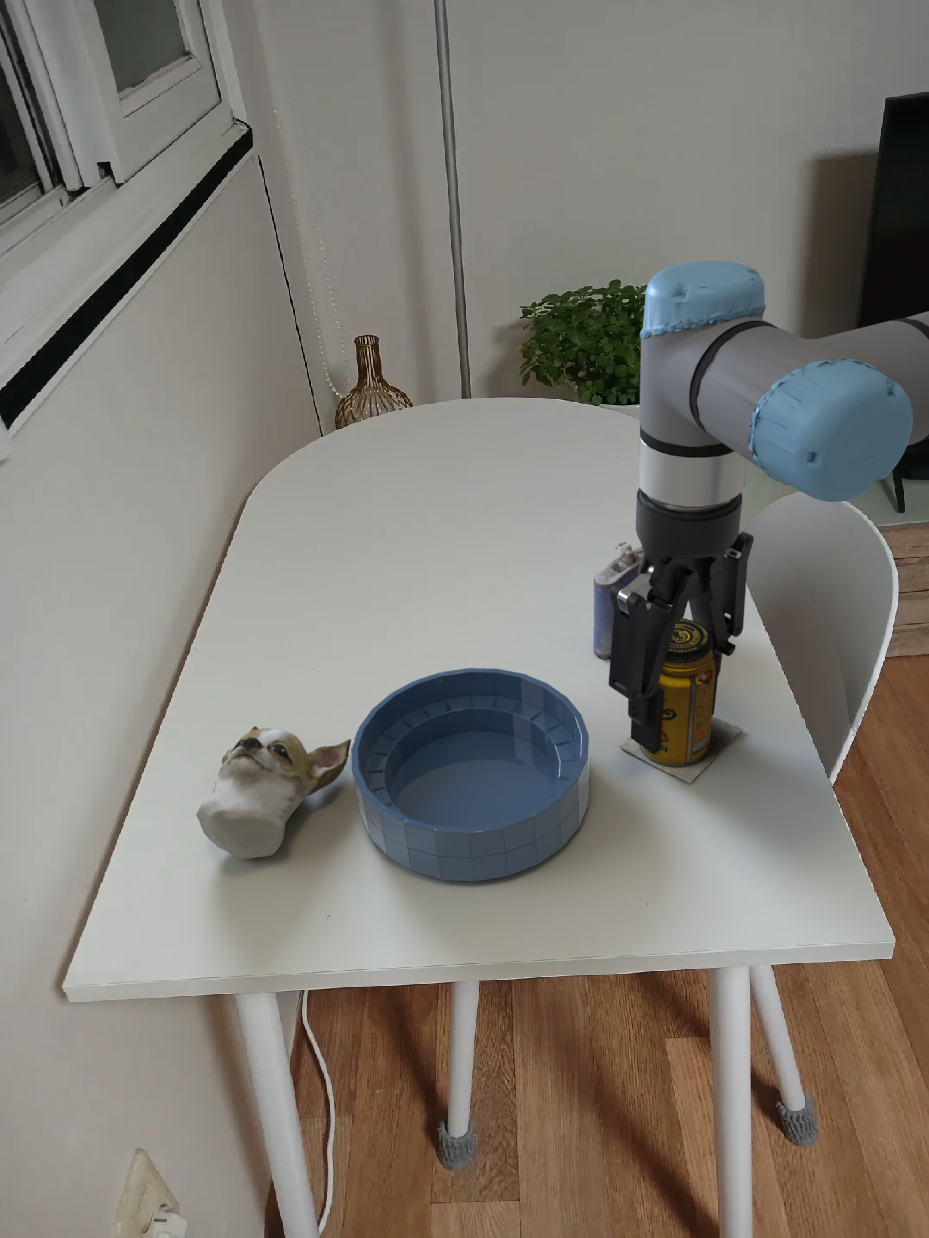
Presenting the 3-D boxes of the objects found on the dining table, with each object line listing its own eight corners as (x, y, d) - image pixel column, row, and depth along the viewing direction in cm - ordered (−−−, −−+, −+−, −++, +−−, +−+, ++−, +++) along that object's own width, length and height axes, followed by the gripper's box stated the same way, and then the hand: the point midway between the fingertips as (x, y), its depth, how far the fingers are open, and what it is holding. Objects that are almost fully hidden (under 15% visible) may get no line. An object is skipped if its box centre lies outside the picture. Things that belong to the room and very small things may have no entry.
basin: (637, 800, 78) (639, 747, 75) (451, 929, 70) (443, 876, 66) (492, 690, 91) (487, 640, 88) (320, 787, 83) (307, 736, 79)
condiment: (617, 747, 84) (619, 638, 77) (672, 698, 88) (678, 591, 82) (689, 785, 79) (698, 673, 72) (742, 731, 84) (755, 621, 77)
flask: (607, 662, 93) (607, 571, 87) (584, 651, 95) (583, 560, 89) (666, 621, 98) (670, 531, 92) (643, 610, 100) (646, 522, 94)
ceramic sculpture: (146, 789, 72) (236, 674, 84) (171, 869, 76) (254, 750, 88) (275, 809, 69) (349, 688, 81) (293, 892, 74) (361, 765, 86)
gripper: (735, 432, 76) (712, 660, 89) (556, 516, 67) (561, 754, 81) (815, 462, 71) (778, 698, 84) (633, 557, 62) (625, 804, 76)
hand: (672, 725), depth 82 cm, fingers closed on condiment, 6 cm apart
